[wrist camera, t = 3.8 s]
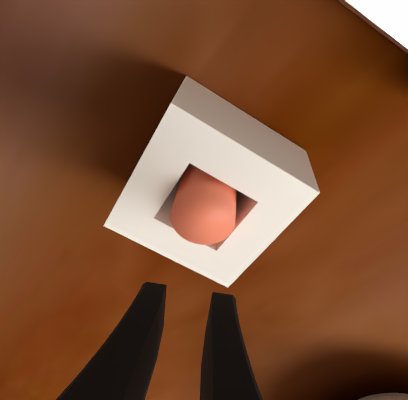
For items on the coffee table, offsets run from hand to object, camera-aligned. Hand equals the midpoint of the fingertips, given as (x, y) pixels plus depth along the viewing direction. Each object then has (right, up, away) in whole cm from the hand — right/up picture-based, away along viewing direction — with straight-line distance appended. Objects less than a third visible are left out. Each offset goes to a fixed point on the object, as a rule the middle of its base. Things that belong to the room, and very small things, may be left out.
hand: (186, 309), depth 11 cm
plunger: (+1, +5, +7) cm, 9 cm away
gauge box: (+1, +5, +8) cm, 9 cm away
